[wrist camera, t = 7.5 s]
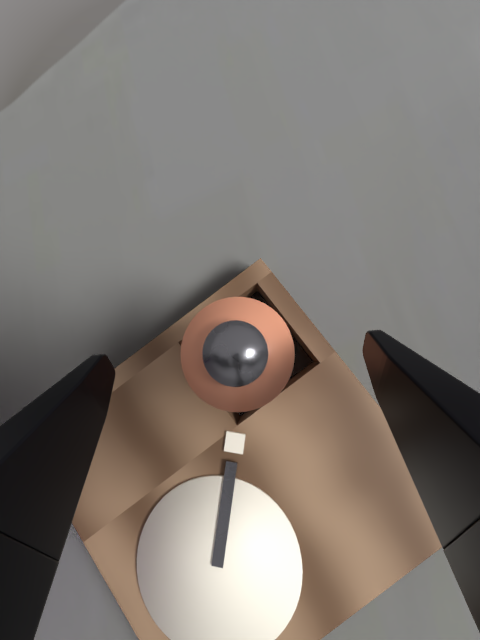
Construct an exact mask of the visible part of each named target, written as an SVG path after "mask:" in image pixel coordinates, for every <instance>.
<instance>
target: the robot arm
mask: <svg viewBox="0 0 480 640" xmlns="http://www.w3.org/2000/svg"><path fill="white" fill-rule="evenodd" d="M363 356H364V360H365V363H366V366H367V370H368V373H369V376H370V379H371V383H372V386H373V389H374V392H375V395H376V398H377V400H378V403H379V405H380V407H381V410H382V412H383V414H384V416H385V419H386V421H387V423H388V425H389V428H390V430H391V432H392V435H393V437H394V439H395V441H396V444H397V446H398V448H399V450H400V453H401V455H402V457H403V459H404V462H405V464H406V466H407V469H408V471H409V473H410V475H411V478H412V480H413V482H414V484H415V487H416V489H417V491H418V493H419V496H420V498H421V500H422V503H423V505H424V507H425V509H426V512H427V514H428V516H429V518H430V521H431V523H432V525H433V527H434V530H435V532H436V534H437V537H438V539H439V541H440V543H441V546H442V548H443V549H444V553H445V555H446V557H447V560H448V562H449V564H450V566H451V569H452V571H453V573H454V575H455V578H456V580H457V582H458V585H459V587H460V589H461V591H462V594H463V596H464V598H465V600H466V603H467V605H468V607H469V610H470V612H471V614H472V616H473V619H474V621H475V623H476V625H477V628H478V630H479V632H480V393H478V392H477V391H475V390H474V389H472V388H470V387H469V386H467V385H466V384H464V383H463V382H461V381H459V380H458V379H456V378H455V377H453V376H452V375H450V374H449V373H447V372H445V371H444V370H442V369H441V368H439V367H438V366H436V365H435V364H433V363H431V362H430V361H428V360H427V359H425V358H424V357H422V356H420V355H419V354H417V353H416V352H414V351H413V350H411V349H410V348H408V347H406V346H405V345H403V344H402V343H400V342H399V341H397V340H395V339H394V338H392V337H391V336H389V335H388V334H386V333H385V332H383V331H381V330H372V331H368V332H367V333H366V335H365V340H364V345H363ZM114 380H115V369H114V367H113V365H112V364H111V362H110V360H109V359H108V357H107V356H106V355H105V354H97V355H92V356H91V357H90V358H88V359H87V360H86V361H84V362H83V363H82V364H80V365H79V366H78V367H77V368H75V369H74V370H73V371H71V372H70V373H69V374H68V375H66V376H65V377H64V378H62V379H61V380H60V381H58V382H57V383H56V384H55V385H53V386H52V387H51V388H49V389H48V390H47V391H46V392H44V393H43V394H42V395H40V396H39V397H38V398H36V399H35V400H34V401H33V402H31V403H30V404H29V405H27V406H26V407H25V408H23V409H22V410H21V411H20V412H18V413H17V414H16V415H14V416H13V417H12V418H11V419H9V420H8V421H7V422H5V423H4V424H3V425H1V426H0V640H34V637H35V634H36V631H37V628H38V625H39V622H40V619H41V616H42V612H43V609H44V606H45V603H46V600H47V597H48V594H49V591H50V588H51V585H52V582H53V579H54V576H55V573H56V570H57V567H58V564H59V560H60V557H61V554H62V551H63V548H64V545H65V542H66V539H67V536H68V533H69V530H70V527H71V524H72V520H73V517H74V514H75V511H76V508H77V505H78V502H79V499H80V496H81V493H82V490H83V487H84V484H85V481H86V478H87V475H88V472H89V469H90V466H91V463H92V460H93V456H94V453H95V450H96V447H97V444H98V441H99V438H100V435H101V432H102V429H103V426H104V423H105V420H106V416H107V413H108V409H109V404H110V399H111V394H112V390H113V385H114Z"/></svg>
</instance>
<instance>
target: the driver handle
mask: <svg viewBox="0 0 480 640" xmlns="http://www.w3.org/2000/svg"><path fill="white" fill-rule="evenodd" d="M180 356H181V365H182V370H183V373H184V376H185V378H186V380H187V382H188V384H189V386H190V387H191V389H192V390H193V391H194V392H195V394H196V395H197V396H198V397H200V398H201V399H202V400H203V401H204V402H206V403H207V404H209V405H211V406H213V407H215V408H217V409H220V410H224V411H228V412H247V411H251V410H255V409H258V408H260V407H262V406H264V405H266V404H268V403H269V402H271V401H272V400H273V399H274V398H276V397H277V396H278V395H279V394H280V392H281V391H282V390H283V389H284V387H285V386H286V384H287V383H288V380H289V378H290V376H291V373H292V370H293V366H294V358H295V351H294V343H293V339H292V336H291V333H290V330H289V328H288V327H287V325H286V323H285V322H284V320H283V319H282V317H281V316H280V315H279V314H278V313H277V312H276V311H275V310H273V309H272V308H271V307H269V306H268V305H266V304H265V303H262V302H260V301H258V300H255V299H252V298H247V297H228V298H224V299H220V300H217V301H215V302H213V303H211V304H209V305H207V306H206V307H204V308H203V309H202V310H201V311H200V312H198V313H197V314H196V315H195V317H194V318H193V319H192V320H191V322H190V323H189V325H188V327H187V329H186V331H185V333H184V336H183V339H182V344H181V352H180Z"/></svg>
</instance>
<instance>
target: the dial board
mask: <svg viewBox="0 0 480 640" xmlns="http://www.w3.org/2000/svg"><path fill="white" fill-rule="evenodd" d="M257 291H258V292H259V293H260V294H261V295H262V297H263V298H264V299H265V301H266V302H267V303H268V304H269V306H270V307H271V308H272V309H273V310H275V311H276V312H277V313H278V314H279V315H280V316H281V317H282V319H283V320H284V322H285V323H286V325H287V327H288V328H289V330H290V333H291V334H292V335H293V336H294V338H295V339H296V340H297V341H298V343H299V344H300V345H301V347H302V348H303V349H304V350H305V352H306V353H307V354H308V356H309V357H310V358H311V359H312V361H313V362H312V363H311V364H309V365H308V366H307V367H305V368H304V369H303V370H302V371H300V372H299V373H298V374H296V375H295V376H294V377H292V378H291V379H290V380H288V383H287V384H286V386H285V387H284V389H283V390H282V391H281V392H280V394H279V395H278V396H277V397H276V398H274V399H273V400H272V401H271V402H269V403H268V404H266V405H264V406H262V407H260V408H258V409H255V410H251V411H247V412H246V413H245V414H243V415H242V416H241V417H240V416H239V414H238V413H237V412H228V411H224V410H220V409H217V408H215V407H213V406H211V405H209V404H207V403H206V402H204V401H203V400H202V399H201V398H200V397H198V396H197V395H196V394H195V392H194V391H193V390H192V389H191V387H190V386H189V384H188V382H187V380H186V378H185V376H184V373H183V370H182V365H181V356H180V352H181V344H182V339H183V336H184V333H185V331H186V329H187V327H188V325H189V323H190V322H191V320H192V319H193V318H194V317H195V315H196V314H197V313H198V312H200V311H201V310H202V309H203V308H204V307H206V306H207V305H209V304H211V303H213V302H215V301H217V300H220V299H224V298H228V297H247V298H249V297H250V296H252V295H253V294H254V293H256V292H257ZM72 524H73V525H74V527H75V529H76V531H77V532H78V534H79V536H80V538H81V539H82V541H83V543H84V545H85V546H86V548H87V550H88V552H89V553H90V555H91V557H92V559H93V560H94V562H95V564H96V566H97V567H98V569H99V571H100V573H101V574H102V576H103V578H104V580H105V581H106V583H107V585H108V586H109V588H110V590H111V592H112V593H113V595H114V597H115V599H116V600H117V602H118V604H119V606H120V607H121V609H122V611H123V613H124V614H125V616H126V618H127V620H128V621H129V623H130V625H131V627H132V628H133V630H134V632H135V634H136V635H137V637H138V639H139V640H320V639H322V638H323V637H324V636H326V635H327V634H328V633H330V632H331V631H332V630H333V629H335V628H336V627H337V626H339V625H340V624H341V623H343V622H344V621H345V620H347V619H348V618H349V617H351V616H352V615H353V614H355V613H356V612H357V611H359V610H360V609H361V608H362V607H364V606H365V605H366V604H368V603H369V602H370V601H372V600H373V599H374V598H376V597H377V596H378V595H380V594H381V593H382V592H384V591H385V590H386V589H387V588H389V587H390V586H391V585H393V584H394V583H395V582H397V581H398V580H399V579H401V578H402V577H403V576H405V575H406V574H407V573H409V572H410V571H411V570H413V569H414V568H415V567H416V566H418V565H419V564H420V563H422V562H423V561H424V560H426V559H427V558H428V557H430V556H431V555H432V554H434V553H435V552H436V551H438V550H439V549H440V548H442V546H441V543H440V541H439V539H438V537H437V534H436V532H435V530H434V527H433V525H432V523H431V521H430V518H429V516H428V514H427V512H426V509H425V507H424V505H423V503H422V500H421V498H420V496H419V493H418V491H417V489H416V487H415V484H414V482H413V480H412V478H411V475H410V473H409V471H408V469H407V466H406V464H405V462H404V459H403V457H402V455H401V453H400V450H399V448H398V446H397V444H396V441H395V439H394V437H393V435H392V432H391V430H390V428H389V425H388V423H387V421H386V419H385V416H384V414H383V412H382V410H381V408H380V407H379V405H378V404H377V403H376V402H375V400H374V399H373V398H372V397H371V395H370V394H369V393H368V392H367V390H366V389H365V388H364V387H363V385H362V384H361V383H360V382H359V380H358V379H357V378H356V377H355V375H354V374H353V373H352V372H351V370H350V369H349V368H348V367H347V365H346V364H345V363H344V362H343V360H342V359H341V358H340V357H339V355H338V354H337V353H336V352H335V350H334V349H333V348H332V347H331V345H330V344H329V343H328V342H327V340H326V339H325V338H324V337H323V336H322V334H321V333H320V332H319V331H318V329H317V328H316V327H315V326H314V324H313V323H312V322H311V321H310V319H309V318H308V317H307V316H306V314H305V313H304V312H303V311H302V309H301V308H300V307H299V306H298V304H297V303H296V302H295V301H294V299H293V298H292V297H291V296H290V294H289V293H288V292H287V291H286V289H285V288H284V287H283V286H282V284H281V283H280V282H279V281H278V279H277V278H276V277H275V276H274V274H273V273H272V272H271V271H270V269H269V268H268V267H267V266H266V264H265V263H264V262H263V261H262V259H261V258H260V259H259V260H258V261H256V262H255V263H254V264H252V265H251V266H250V267H248V268H247V269H246V270H244V271H243V272H242V273H240V274H239V275H238V276H236V277H235V278H234V279H232V280H231V281H230V282H228V283H227V284H226V285H224V286H223V287H222V288H220V289H219V290H218V291H217V292H215V293H214V294H213V295H211V296H210V297H209V298H207V299H206V300H205V301H203V302H202V303H201V304H199V305H198V306H197V307H195V308H194V309H193V310H191V311H190V312H189V313H187V314H186V315H185V316H183V317H182V318H181V319H179V320H178V321H177V322H175V323H174V324H173V325H171V326H170V327H169V328H168V329H166V330H165V331H164V332H162V333H161V334H160V335H158V336H157V337H156V338H154V339H153V340H152V341H150V342H149V343H148V344H146V345H145V346H144V347H142V348H141V349H140V350H138V351H137V352H136V353H134V354H133V355H132V356H130V357H129V358H128V359H126V360H125V361H124V362H123V363H121V364H120V365H119V366H117V367H116V368H115V380H114V385H113V390H112V394H111V399H110V404H109V409H108V413H107V416H106V420H105V423H104V426H103V429H102V432H101V435H100V438H99V441H98V444H97V447H96V450H95V453H94V456H93V460H92V463H91V466H90V469H89V472H88V475H87V478H86V481H85V484H84V487H83V490H82V493H81V496H80V499H79V502H78V505H77V508H76V511H75V514H74V517H73V520H72Z"/></svg>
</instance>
